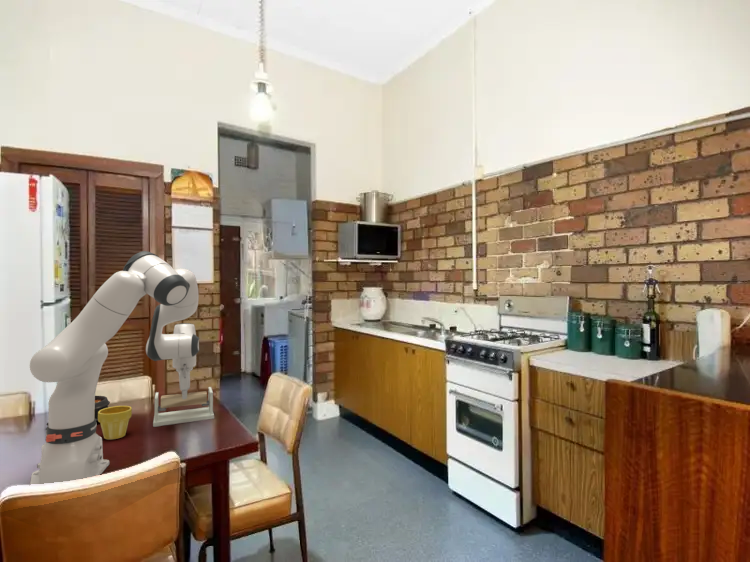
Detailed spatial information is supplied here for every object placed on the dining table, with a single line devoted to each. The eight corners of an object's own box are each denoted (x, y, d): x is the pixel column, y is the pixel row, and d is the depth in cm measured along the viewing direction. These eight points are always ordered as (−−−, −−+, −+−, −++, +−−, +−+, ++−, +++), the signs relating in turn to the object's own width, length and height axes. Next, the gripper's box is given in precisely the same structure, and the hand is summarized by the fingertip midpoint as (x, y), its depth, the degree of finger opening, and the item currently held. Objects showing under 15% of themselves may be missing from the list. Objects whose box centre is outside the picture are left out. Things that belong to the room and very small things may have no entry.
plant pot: (121, 429, 155) (122, 403, 155) (137, 434, 150) (137, 407, 150) (91, 438, 146) (92, 411, 146) (107, 444, 141) (107, 415, 141)
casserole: (66, 435, 149) (66, 412, 149) (34, 428, 156) (35, 406, 156) (130, 414, 172) (130, 395, 172) (100, 409, 179) (100, 390, 179)
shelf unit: (213, 418, 168) (214, 393, 168) (153, 426, 158) (153, 399, 158) (211, 410, 178) (211, 386, 178) (154, 417, 169) (154, 392, 169)
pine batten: (206, 403, 170) (206, 393, 170) (160, 408, 163) (160, 398, 163) (206, 400, 173) (206, 391, 173) (161, 405, 166) (161, 395, 166)
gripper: (193, 366, 160) (193, 401, 160) (191, 357, 178) (191, 389, 178) (176, 367, 157) (175, 403, 157) (175, 358, 176) (175, 390, 176)
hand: (184, 395), depth 168 cm, fingers open, 8 cm apart
